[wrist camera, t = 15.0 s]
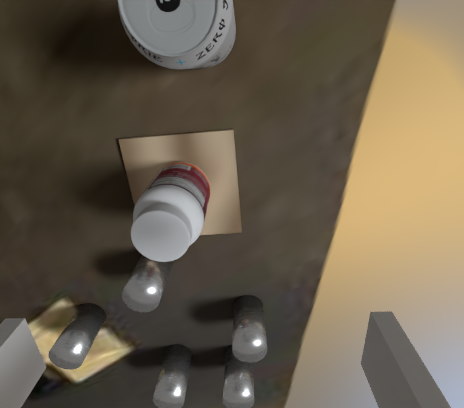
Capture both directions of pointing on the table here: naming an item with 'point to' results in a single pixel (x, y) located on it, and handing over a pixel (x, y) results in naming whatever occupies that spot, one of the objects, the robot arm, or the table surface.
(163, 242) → the pill bottle
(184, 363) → the cylinder
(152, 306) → the cylinder
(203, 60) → the energy drink can
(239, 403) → the grey cylinder
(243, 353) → the cylinder
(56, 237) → the table surface
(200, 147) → the coaster
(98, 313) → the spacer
